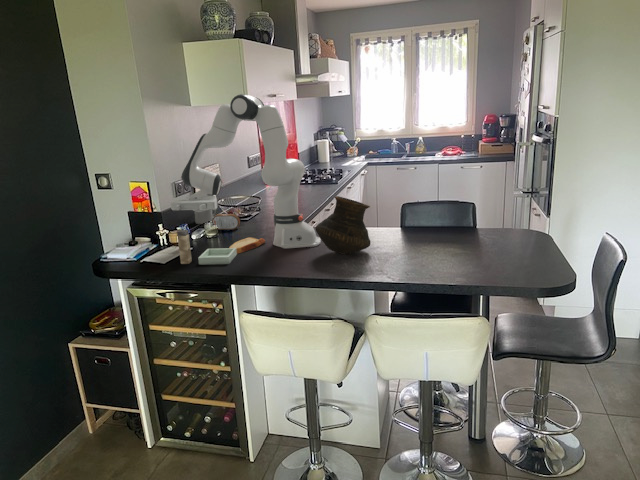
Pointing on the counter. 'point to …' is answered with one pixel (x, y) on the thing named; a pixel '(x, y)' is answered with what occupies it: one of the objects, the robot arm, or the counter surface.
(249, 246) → the slice of bread
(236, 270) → the counter surface
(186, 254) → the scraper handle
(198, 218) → the coffee mug
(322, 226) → the ceramic pot
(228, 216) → the tin
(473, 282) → the counter surface
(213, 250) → the box
